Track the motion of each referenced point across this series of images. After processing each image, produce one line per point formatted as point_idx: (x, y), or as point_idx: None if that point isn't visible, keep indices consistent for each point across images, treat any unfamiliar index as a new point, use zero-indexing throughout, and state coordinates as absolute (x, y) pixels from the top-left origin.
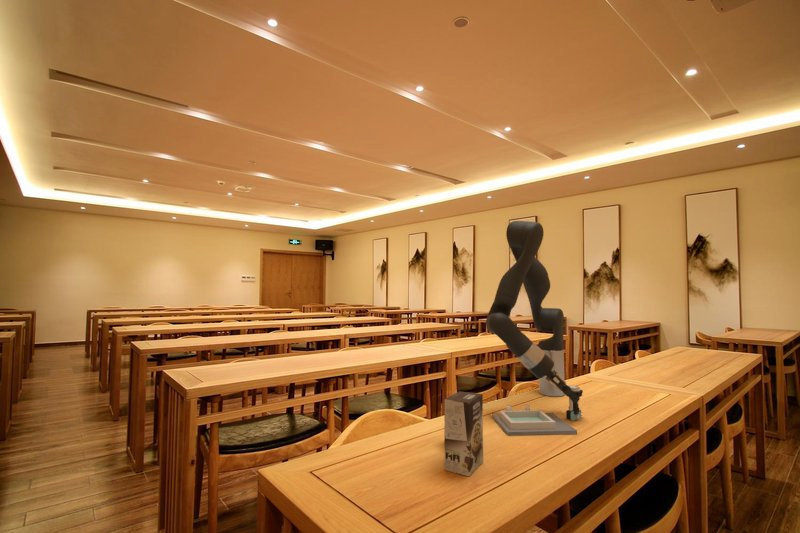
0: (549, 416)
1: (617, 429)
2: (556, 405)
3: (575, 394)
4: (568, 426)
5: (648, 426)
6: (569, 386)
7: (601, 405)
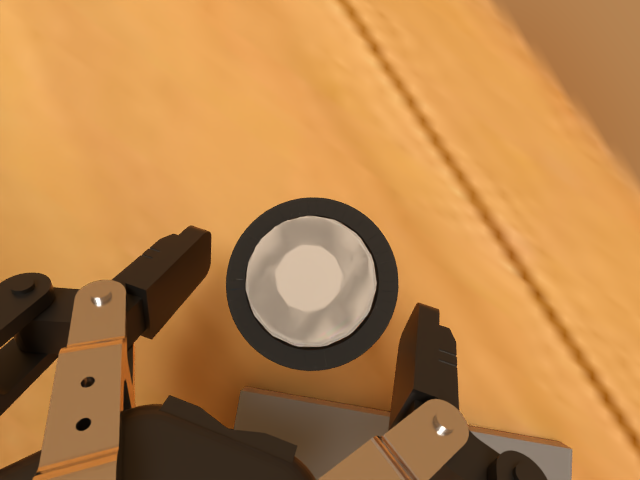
0: (302, 460)
1: (510, 175)
2: (82, 244)
3: (437, 347)
4: None
5: (489, 10)
6: (279, 308)
7: (158, 12)
